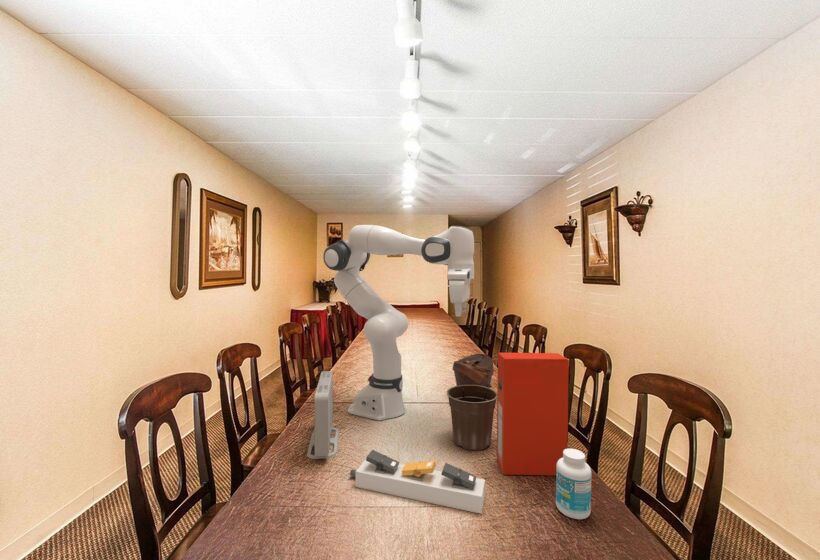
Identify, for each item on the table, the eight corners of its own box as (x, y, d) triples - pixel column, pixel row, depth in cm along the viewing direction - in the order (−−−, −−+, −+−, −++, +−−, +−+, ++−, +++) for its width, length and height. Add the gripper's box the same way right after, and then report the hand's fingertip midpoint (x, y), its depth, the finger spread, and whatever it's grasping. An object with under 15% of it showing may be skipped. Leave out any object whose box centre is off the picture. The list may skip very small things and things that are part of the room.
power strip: (345, 484, 91) (345, 467, 91) (357, 469, 98) (357, 454, 98) (481, 513, 81) (481, 495, 81) (484, 495, 87) (485, 477, 87)
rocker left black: (365, 463, 91) (366, 456, 91) (370, 456, 95) (372, 449, 95) (392, 476, 89) (394, 469, 89) (397, 468, 93) (399, 461, 92)
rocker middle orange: (403, 478, 88) (401, 470, 88) (407, 470, 92) (405, 462, 92) (433, 475, 86) (431, 467, 86) (436, 468, 89) (434, 460, 89)
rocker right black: (440, 477, 85) (442, 469, 85) (443, 469, 89) (445, 462, 88) (472, 492, 83) (474, 484, 83) (474, 483, 86) (476, 475, 86)
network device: (336, 463, 101) (336, 394, 101) (304, 466, 100) (304, 396, 99) (339, 424, 127) (339, 369, 126) (314, 426, 125) (314, 370, 125)
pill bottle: (549, 500, 86) (550, 445, 85) (578, 498, 86) (580, 444, 86) (566, 522, 78) (567, 462, 78) (597, 520, 79) (599, 461, 78)
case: (451, 404, 145) (452, 361, 145) (451, 388, 165) (452, 350, 165) (495, 407, 143) (497, 364, 143) (490, 391, 163) (491, 352, 163)
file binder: (496, 459, 104) (497, 352, 103) (555, 460, 104) (557, 352, 103) (503, 475, 96) (504, 359, 95) (567, 476, 96) (569, 359, 95)
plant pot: (454, 456, 106) (454, 403, 105) (441, 431, 121) (441, 385, 121) (505, 452, 108) (506, 400, 108) (486, 428, 124) (486, 383, 124)
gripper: (456, 273, 130) (456, 310, 131) (446, 274, 111) (445, 317, 111) (473, 273, 128) (473, 311, 129) (466, 274, 109) (465, 318, 109)
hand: (460, 314), depth 120 cm, fingers open, 8 cm apart
